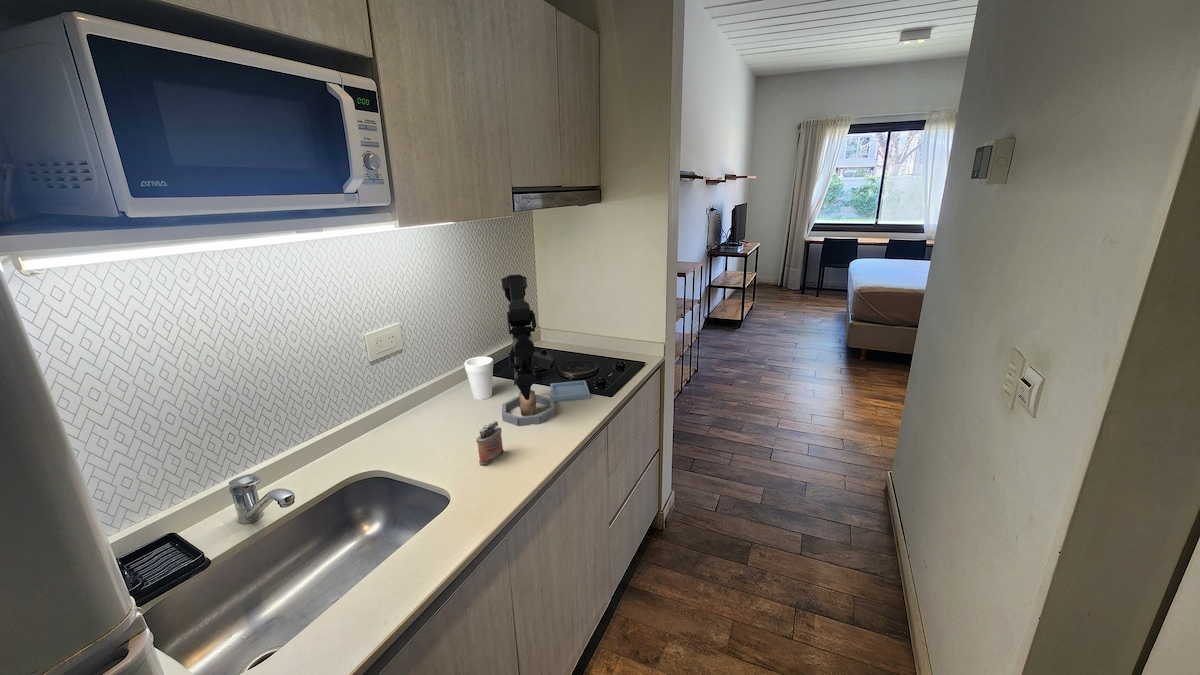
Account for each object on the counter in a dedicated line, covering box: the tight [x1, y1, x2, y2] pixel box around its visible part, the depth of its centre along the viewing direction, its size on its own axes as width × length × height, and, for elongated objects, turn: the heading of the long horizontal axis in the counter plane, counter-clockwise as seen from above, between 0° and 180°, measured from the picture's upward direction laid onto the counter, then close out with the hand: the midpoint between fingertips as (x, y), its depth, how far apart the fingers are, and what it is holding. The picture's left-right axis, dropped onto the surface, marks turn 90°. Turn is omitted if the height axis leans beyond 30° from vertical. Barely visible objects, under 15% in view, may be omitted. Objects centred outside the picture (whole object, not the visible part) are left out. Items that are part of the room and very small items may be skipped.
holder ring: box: [501, 393, 556, 427], centre depth 156 cm, size 16×16×2 cm
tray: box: [549, 380, 591, 403], centre depth 169 cm, size 12×13×2 cm
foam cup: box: [463, 356, 494, 401], centre depth 168 cm, size 10×9×13 cm
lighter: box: [475, 420, 505, 467], centre depth 130 cm, size 8×3×10 cm, turn 148°
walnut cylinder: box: [518, 389, 538, 417], centre depth 155 cm, size 5×5×7 cm
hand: (527, 393), depth 154 cm, fingers open, 9 cm apart
